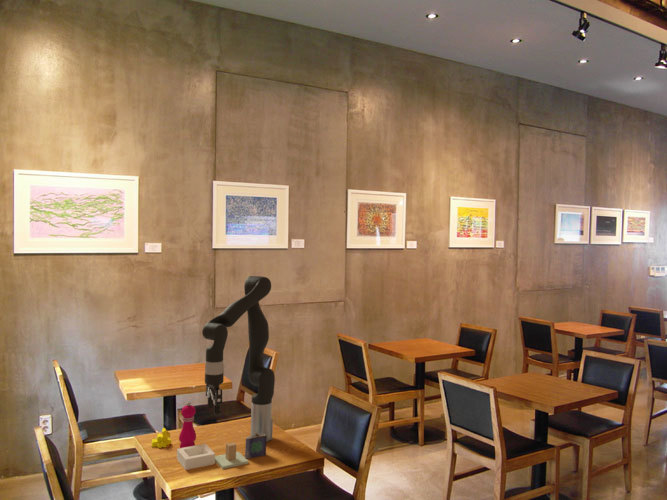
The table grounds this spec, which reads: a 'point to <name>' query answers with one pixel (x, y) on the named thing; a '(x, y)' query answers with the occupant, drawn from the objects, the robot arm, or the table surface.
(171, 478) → the table surface
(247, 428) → the table surface
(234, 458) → the lid
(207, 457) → the dish
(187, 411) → the pepper mill
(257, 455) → the flask
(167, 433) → the yellow lumpy cluster
